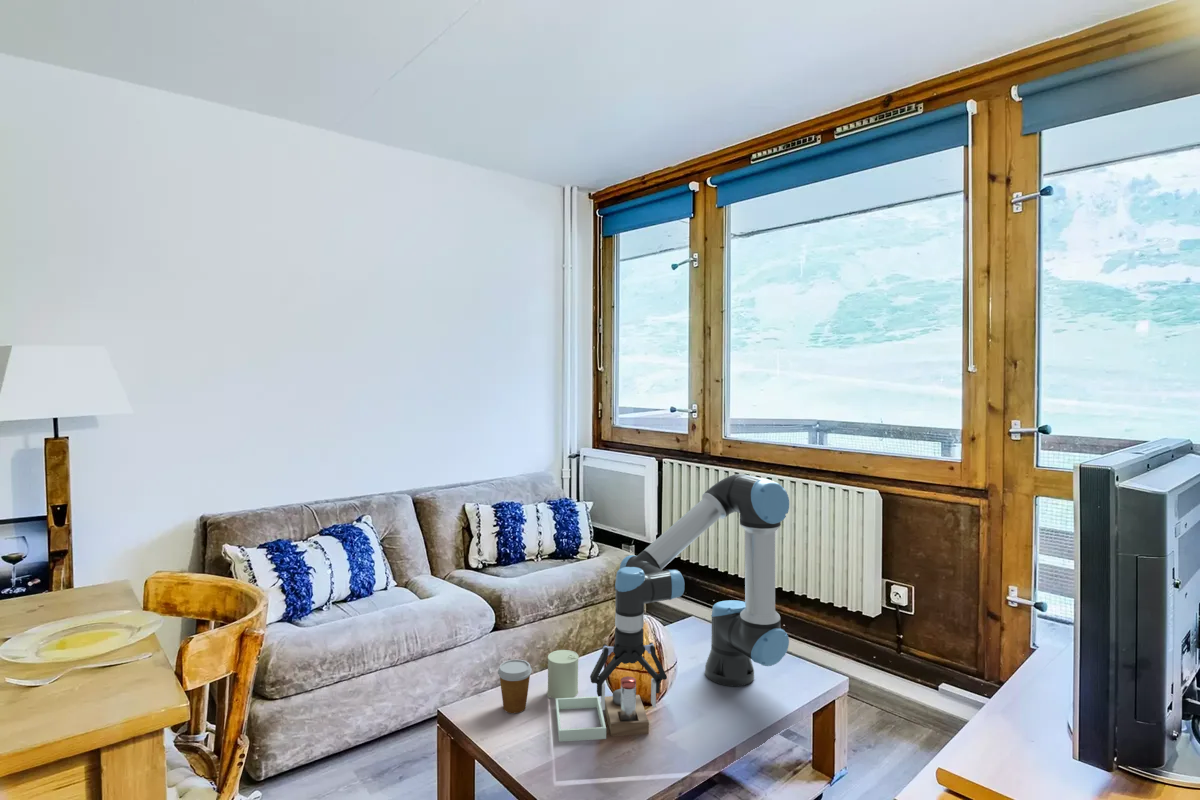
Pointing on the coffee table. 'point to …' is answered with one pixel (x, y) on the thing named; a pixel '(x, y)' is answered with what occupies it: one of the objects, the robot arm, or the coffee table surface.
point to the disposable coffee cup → (514, 684)
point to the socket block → (628, 726)
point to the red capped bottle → (628, 699)
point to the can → (562, 674)
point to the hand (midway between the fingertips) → (628, 706)
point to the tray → (580, 732)
